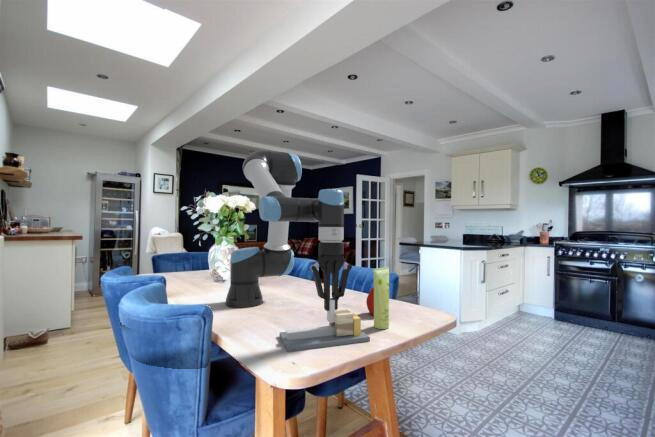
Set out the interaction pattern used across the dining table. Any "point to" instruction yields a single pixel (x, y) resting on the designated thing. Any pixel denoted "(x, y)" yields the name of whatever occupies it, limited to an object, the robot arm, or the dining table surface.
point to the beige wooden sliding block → (343, 322)
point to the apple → (370, 301)
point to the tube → (381, 298)
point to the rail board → (321, 337)
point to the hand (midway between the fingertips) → (330, 321)
